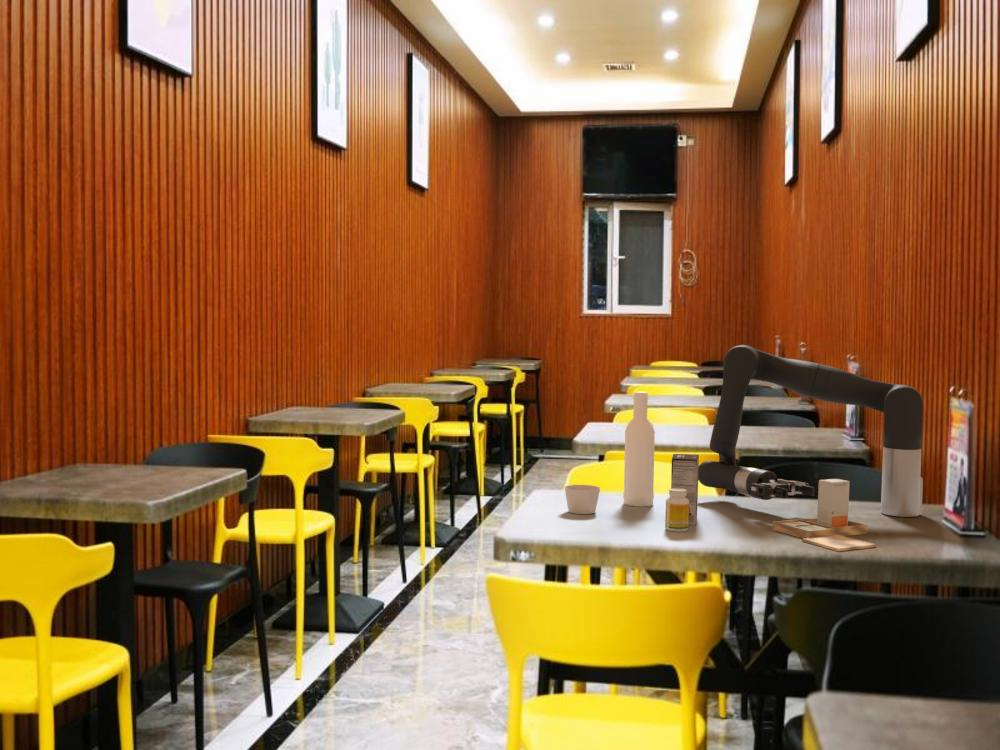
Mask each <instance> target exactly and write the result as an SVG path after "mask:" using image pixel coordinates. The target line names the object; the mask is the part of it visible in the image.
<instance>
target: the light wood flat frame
mask: <svg viewBox="0 0 1000 750" xmlns="http://www.w3.org/2000/svg"><path fill="white" fill-rule="evenodd" d="M868 530H869V525H868V524H864V523H861V522H856V521H852V520H848V526H846V527H836V528H834V527H830V526H826V525H822V524H818V523H817V516H815V517H808V518H807V517H806V518H797V519H786V520H785V519H784V520H773V521H772V531H775V532H778V533H781V534H786V535H790V536H793V537H797V538H799V539H804V538H813V537H822V536H832V535H842V536H846V537H848V536H849V537H850V536H857V535H867V534H868V532H869V531H868Z"/></svg>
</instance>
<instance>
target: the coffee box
mask: <svg viewBox="0 0 1000 750" xmlns="http://www.w3.org/2000/svg"><path fill="white" fill-rule="evenodd" d="M699 456H700V455H699V454H689V453H687V454H686V453H673V455H672V458H671V473H670V474H671V478H670V479H671V480H670V482H671V484H670V485H671V486H670V489H671V488H683V489H686V490H687V495H686V496H685V498H687V499H688V500H689V521H688V526H696V525H697V522H698V504H699V503H698V500H699V498H698V497H699V480H698V467H699V465H700V463H699Z"/></svg>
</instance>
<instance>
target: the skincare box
mask: <svg viewBox="0 0 1000 750" xmlns="http://www.w3.org/2000/svg"><path fill="white" fill-rule="evenodd" d="M817 489H818V491H817V493H818V496H817V514H816V517H817V523H818V524H822V525H826V526H830V527H834V528H836V527H846V526H848V521H849V507H850V506H849V505H850V502H849V501H850V481H849V480H845V479H841V478H828V479H819V480H818V488H817Z"/></svg>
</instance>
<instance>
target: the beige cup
mask: <svg viewBox="0 0 1000 750" xmlns="http://www.w3.org/2000/svg"><path fill="white" fill-rule="evenodd" d="M564 492H565V500H566V504H567V505H566V506H567V511H568V512H569V513H571V514H575V515H592V514H594V513H596V512H597V506H598V500H599V495H600V492H601V488H600V486H596V485H591V484H569V485H566V486H564Z"/></svg>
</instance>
